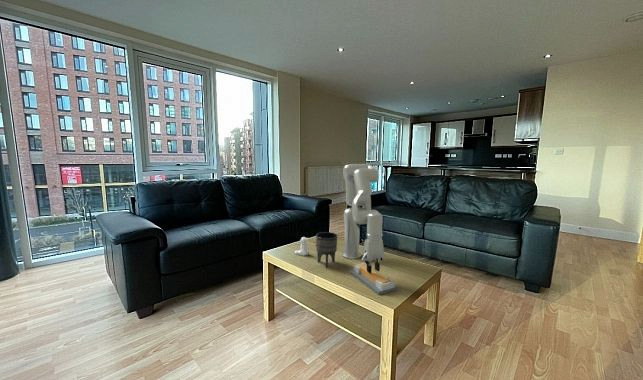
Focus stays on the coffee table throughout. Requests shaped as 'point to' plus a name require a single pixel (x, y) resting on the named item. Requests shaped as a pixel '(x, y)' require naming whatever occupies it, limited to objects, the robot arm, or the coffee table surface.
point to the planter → (326, 245)
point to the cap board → (378, 287)
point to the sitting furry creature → (303, 247)
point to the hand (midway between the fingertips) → (373, 270)
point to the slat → (371, 275)
